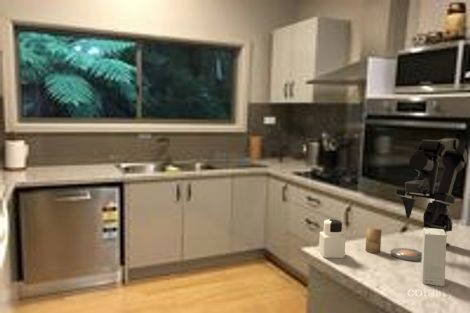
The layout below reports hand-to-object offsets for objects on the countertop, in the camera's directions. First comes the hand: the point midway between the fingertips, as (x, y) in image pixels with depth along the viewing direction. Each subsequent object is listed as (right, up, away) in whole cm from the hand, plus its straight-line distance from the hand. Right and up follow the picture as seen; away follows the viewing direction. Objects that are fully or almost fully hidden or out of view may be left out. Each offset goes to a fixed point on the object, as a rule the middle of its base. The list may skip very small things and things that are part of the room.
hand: (419, 220), depth 139 cm
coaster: (-4, -12, +1) cm, 13 cm away
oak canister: (-14, -12, +5) cm, 19 cm away
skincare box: (-5, -15, -19) cm, 25 cm away
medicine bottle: (-30, -12, +1) cm, 32 cm away
